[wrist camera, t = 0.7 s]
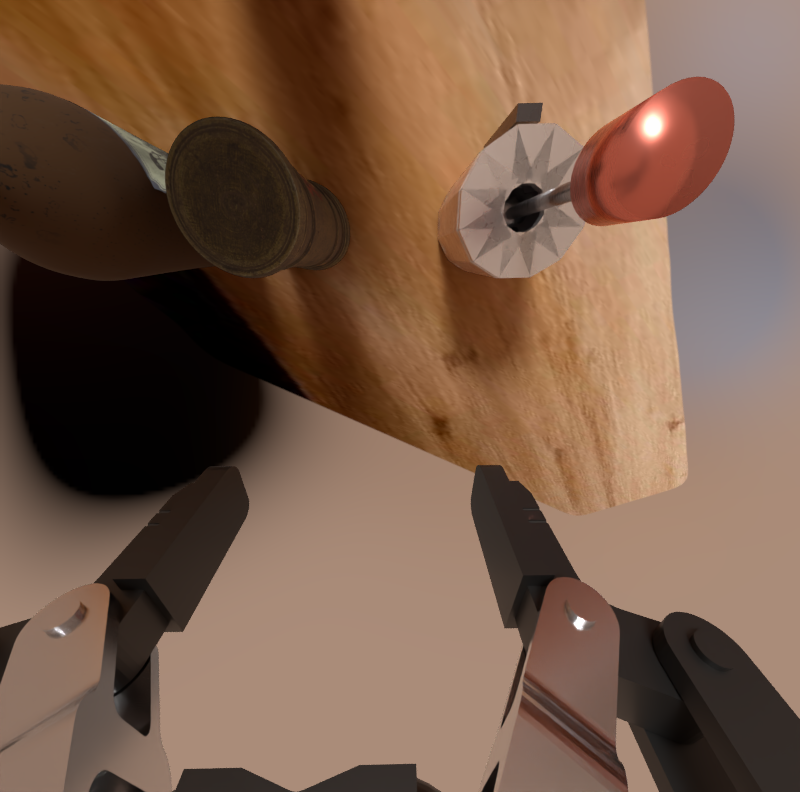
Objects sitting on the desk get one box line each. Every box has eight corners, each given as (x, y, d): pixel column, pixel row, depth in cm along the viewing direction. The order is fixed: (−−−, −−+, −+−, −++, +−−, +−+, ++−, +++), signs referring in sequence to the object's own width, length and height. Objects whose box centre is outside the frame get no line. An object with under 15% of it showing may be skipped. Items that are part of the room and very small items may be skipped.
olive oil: (229, 289, 36) (-38, 343, 14) (144, 226, 33) (-374, 167, 11) (270, 215, 33) (3, 131, 11) (180, 138, 30) (-478, -221, 7)
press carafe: (440, 153, 31) (466, 92, 19) (534, 151, 31) (617, 88, 19) (436, 272, 36) (454, 280, 24) (516, 270, 36) (573, 277, 24)
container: (358, 261, 35) (327, 266, 19) (290, 277, 36) (204, 295, 20) (337, 173, 31) (273, 84, 15) (260, 193, 32) (122, 129, 16)
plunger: (471, 165, 24) (602, 6, 9) (556, 163, 24) (838, 0, 9) (464, 260, 27) (551, 266, 12) (539, 258, 27) (723, 261, 12)
